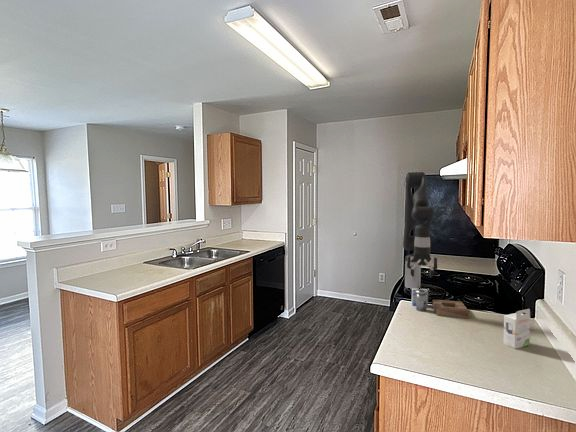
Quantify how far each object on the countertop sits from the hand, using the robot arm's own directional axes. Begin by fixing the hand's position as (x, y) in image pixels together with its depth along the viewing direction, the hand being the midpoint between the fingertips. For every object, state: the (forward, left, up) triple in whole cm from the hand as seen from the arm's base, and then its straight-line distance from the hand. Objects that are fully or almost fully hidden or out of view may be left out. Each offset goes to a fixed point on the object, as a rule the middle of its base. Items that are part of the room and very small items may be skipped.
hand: (421, 276), depth 165 cm
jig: (-1, +14, -17) cm, 22 cm away
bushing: (0, 0, -17) cm, 17 cm away
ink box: (+32, +31, -18) cm, 48 cm away
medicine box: (-8, 0, -18) cm, 19 cm away
